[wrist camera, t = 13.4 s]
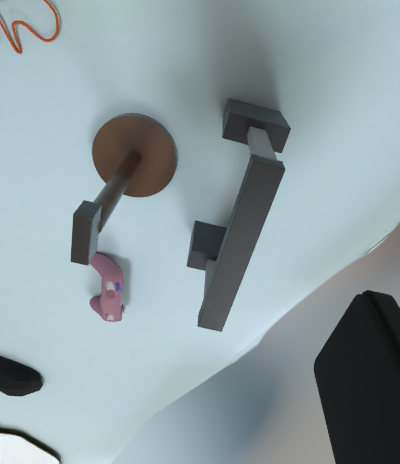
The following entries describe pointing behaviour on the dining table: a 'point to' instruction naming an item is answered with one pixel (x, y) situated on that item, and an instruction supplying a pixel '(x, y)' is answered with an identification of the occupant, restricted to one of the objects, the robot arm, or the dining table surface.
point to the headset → (239, 210)
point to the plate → (23, 451)
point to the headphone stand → (122, 174)
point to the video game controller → (108, 289)
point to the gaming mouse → (18, 379)
